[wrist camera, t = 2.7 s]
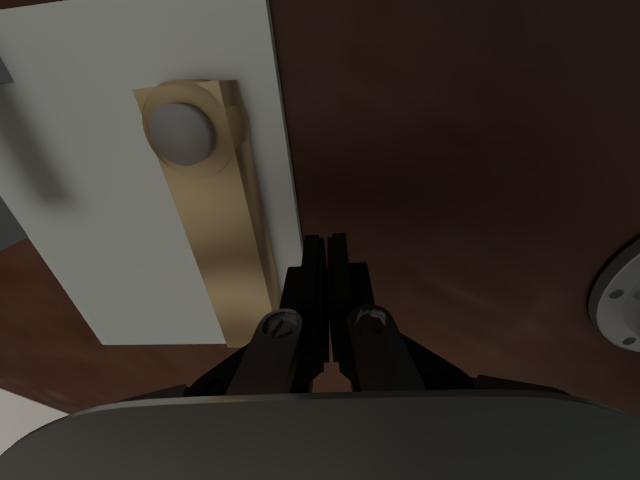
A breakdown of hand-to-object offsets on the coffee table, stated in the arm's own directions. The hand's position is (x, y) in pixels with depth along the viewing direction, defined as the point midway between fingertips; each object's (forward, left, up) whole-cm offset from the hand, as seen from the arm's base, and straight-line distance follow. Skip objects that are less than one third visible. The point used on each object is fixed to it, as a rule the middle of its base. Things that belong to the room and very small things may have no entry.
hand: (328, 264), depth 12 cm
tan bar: (+6, +1, -6) cm, 9 cm away
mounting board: (+12, +1, -8) cm, 14 cm away
